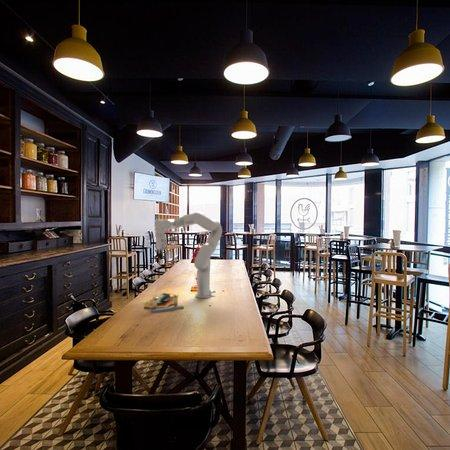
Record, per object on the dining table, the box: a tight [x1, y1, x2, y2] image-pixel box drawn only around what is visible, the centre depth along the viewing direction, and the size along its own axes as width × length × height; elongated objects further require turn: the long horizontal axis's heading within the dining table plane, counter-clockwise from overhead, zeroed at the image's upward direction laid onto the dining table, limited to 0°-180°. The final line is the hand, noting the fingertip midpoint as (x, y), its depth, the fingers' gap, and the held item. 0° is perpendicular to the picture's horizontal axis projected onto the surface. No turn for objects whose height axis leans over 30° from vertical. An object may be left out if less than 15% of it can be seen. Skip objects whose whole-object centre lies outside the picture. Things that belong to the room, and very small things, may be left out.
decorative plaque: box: [143, 292, 174, 310], centre depth 219 cm, size 30×7×20 cm
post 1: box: [151, 296, 158, 309], centre depth 202 cm, size 4×4×9 cm
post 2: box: [172, 293, 180, 306], centre depth 209 cm, size 4×4×9 cm
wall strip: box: [149, 304, 185, 314], centre depth 203 cm, size 22×3×2 cm, turn 118°
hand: (160, 258), depth 245 cm, fingers closed
